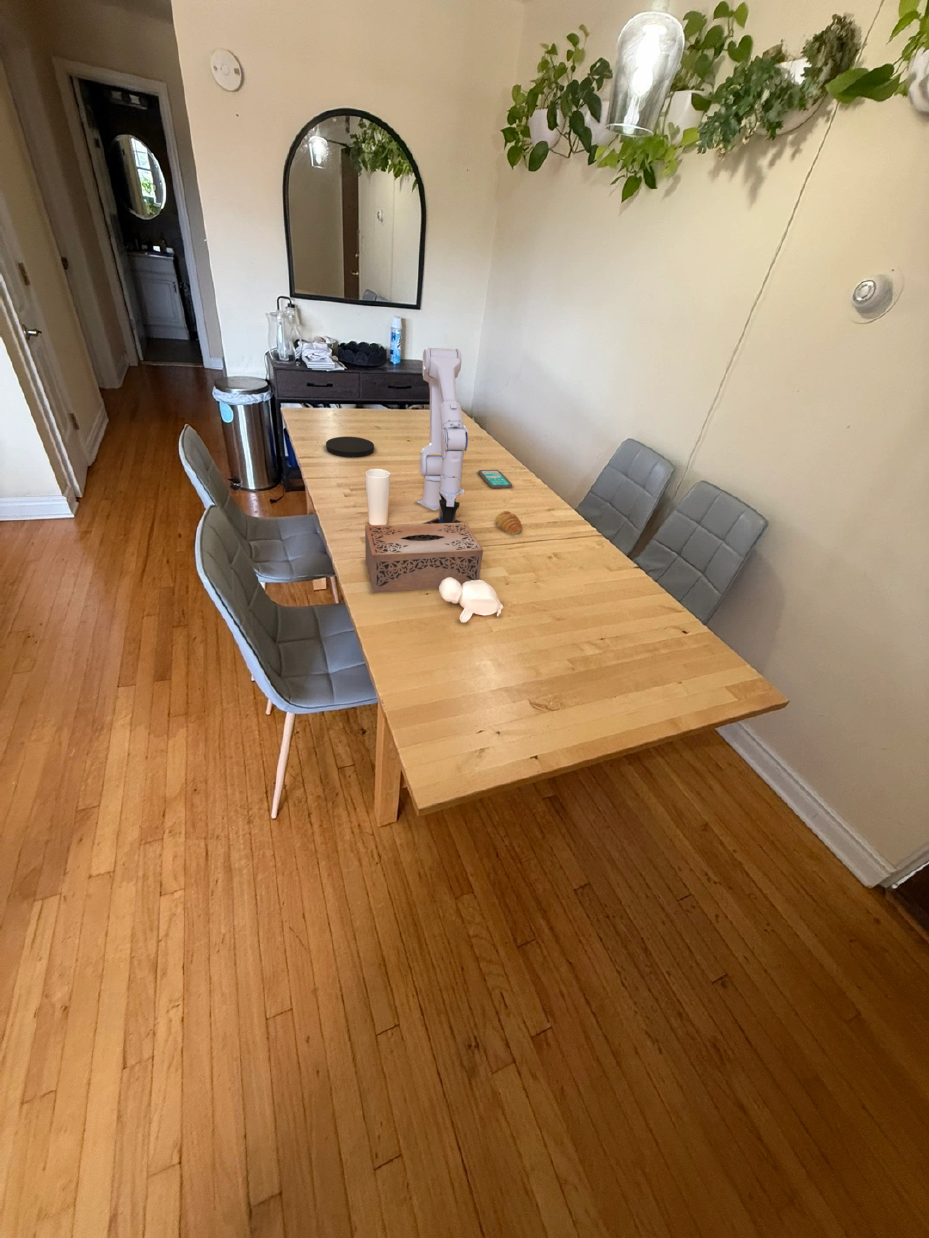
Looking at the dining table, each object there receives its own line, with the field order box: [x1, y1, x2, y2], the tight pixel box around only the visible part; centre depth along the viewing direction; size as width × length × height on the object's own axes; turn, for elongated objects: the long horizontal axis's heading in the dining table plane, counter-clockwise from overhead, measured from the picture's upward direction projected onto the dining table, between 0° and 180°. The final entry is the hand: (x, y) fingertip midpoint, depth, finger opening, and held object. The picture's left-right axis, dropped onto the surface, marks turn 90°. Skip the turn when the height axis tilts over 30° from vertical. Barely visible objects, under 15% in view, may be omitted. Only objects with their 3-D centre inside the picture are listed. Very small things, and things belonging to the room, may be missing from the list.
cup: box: [438, 500, 458, 523], centre depth 145 cm, size 5×5×8 cm
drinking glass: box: [364, 468, 391, 525], centre depth 142 cm, size 7×7×15 cm
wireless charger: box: [325, 436, 375, 459], centre depth 193 cm, size 18×18×2 cm
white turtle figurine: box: [438, 577, 504, 624], centre depth 114 cm, size 9×8×15 cm
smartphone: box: [478, 469, 513, 489], centre depth 183 cm, size 9×1×15 cm
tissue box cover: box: [364, 522, 484, 594], centre depth 124 cm, size 26×14×10 cm, turn 105°
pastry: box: [495, 510, 523, 535], centre depth 152 cm, size 9×7×4 cm
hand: (447, 519), depth 145 cm, fingers closed on cup, 5 cm apart
